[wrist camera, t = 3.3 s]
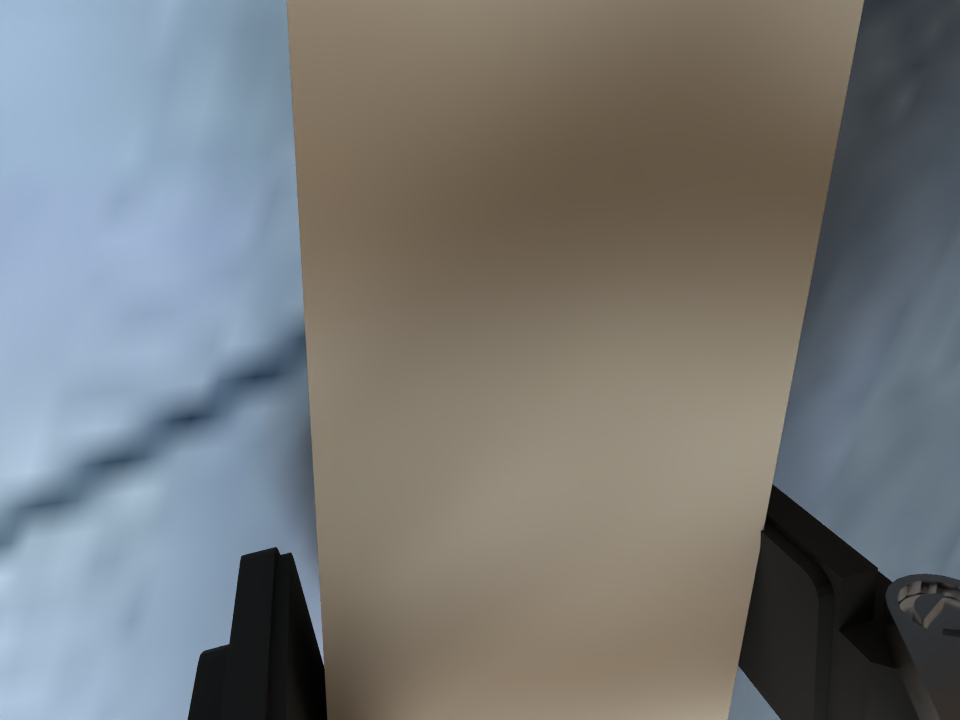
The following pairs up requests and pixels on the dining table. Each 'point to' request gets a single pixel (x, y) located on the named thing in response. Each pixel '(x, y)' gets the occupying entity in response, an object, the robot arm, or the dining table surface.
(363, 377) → the ash plank
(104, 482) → the dining table surface
